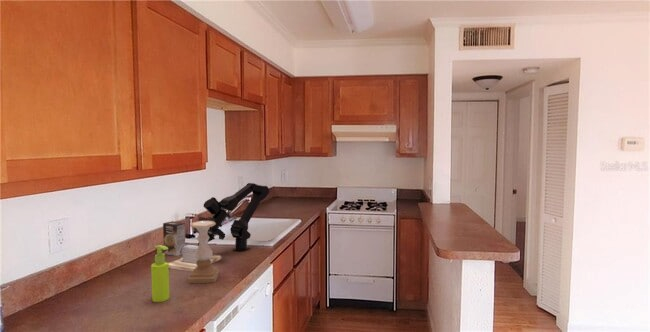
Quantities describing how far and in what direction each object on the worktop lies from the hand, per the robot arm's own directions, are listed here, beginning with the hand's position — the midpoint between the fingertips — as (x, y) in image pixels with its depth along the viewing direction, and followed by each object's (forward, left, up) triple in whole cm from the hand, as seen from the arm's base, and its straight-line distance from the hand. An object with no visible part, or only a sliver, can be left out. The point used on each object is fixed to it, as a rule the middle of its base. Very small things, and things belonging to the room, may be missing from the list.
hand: (198, 246), depth 183 cm
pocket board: (+2, -1, -8) cm, 8 cm away
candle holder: (+17, +16, -8) cm, 25 cm away
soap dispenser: (+40, +15, -8) cm, 43 cm away
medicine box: (+4, -1, -8) cm, 9 cm away
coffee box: (-7, -21, -8) cm, 24 cm away
